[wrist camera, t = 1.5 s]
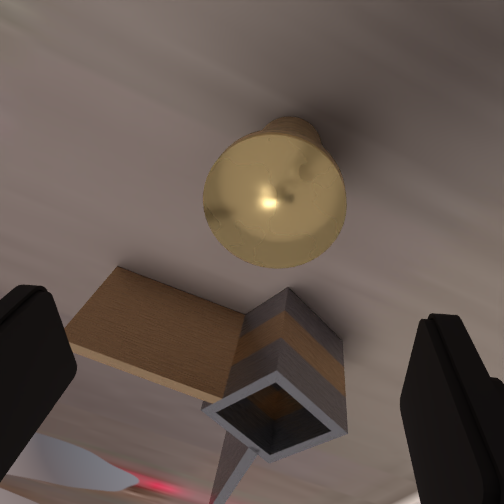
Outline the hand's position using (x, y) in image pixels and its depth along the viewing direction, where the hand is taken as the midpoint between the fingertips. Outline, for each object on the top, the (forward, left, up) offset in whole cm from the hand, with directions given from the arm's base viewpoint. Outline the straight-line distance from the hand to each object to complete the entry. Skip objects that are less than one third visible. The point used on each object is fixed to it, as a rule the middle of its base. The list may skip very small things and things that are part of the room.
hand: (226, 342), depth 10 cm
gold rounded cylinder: (-1, 0, -16) cm, 16 cm away
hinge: (+14, +8, -16) cm, 23 cm away
